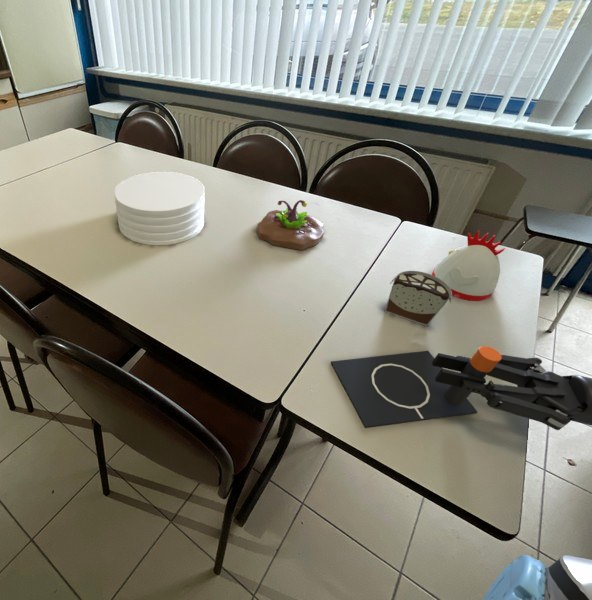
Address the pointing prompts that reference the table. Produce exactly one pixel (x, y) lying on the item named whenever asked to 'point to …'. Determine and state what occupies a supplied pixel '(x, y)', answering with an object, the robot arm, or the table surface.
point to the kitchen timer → (471, 269)
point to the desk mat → (397, 389)
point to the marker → (474, 372)
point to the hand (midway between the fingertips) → (437, 367)
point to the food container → (417, 296)
